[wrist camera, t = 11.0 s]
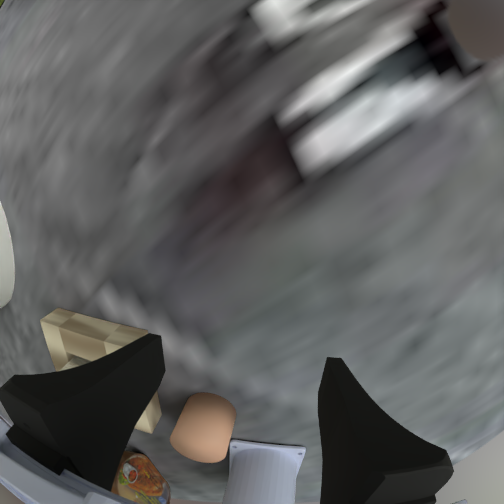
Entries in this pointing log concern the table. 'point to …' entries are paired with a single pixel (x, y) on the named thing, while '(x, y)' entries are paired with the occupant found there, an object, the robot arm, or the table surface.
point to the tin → (140, 480)
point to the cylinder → (6, 261)
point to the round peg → (204, 428)
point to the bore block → (93, 347)
